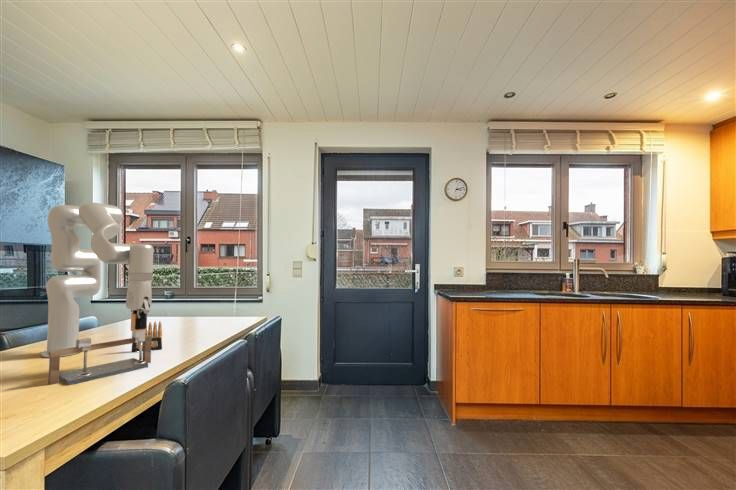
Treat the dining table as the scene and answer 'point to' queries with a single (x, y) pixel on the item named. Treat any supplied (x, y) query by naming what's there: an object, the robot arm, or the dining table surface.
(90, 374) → the bolt plate
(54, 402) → the dining table surface
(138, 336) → the sliding leg
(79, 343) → the divider frame
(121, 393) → the dining table surface
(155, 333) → the ammunition clip
